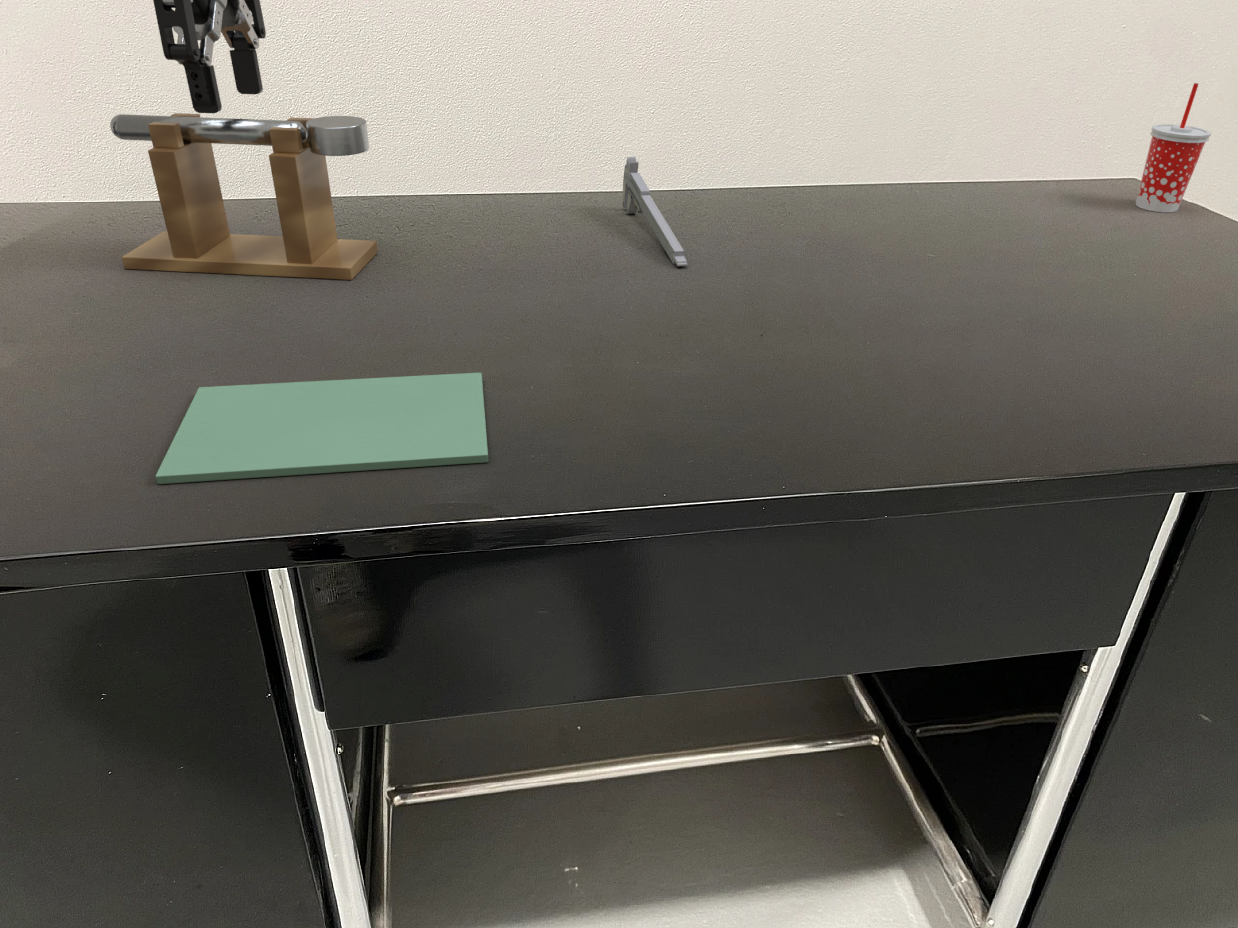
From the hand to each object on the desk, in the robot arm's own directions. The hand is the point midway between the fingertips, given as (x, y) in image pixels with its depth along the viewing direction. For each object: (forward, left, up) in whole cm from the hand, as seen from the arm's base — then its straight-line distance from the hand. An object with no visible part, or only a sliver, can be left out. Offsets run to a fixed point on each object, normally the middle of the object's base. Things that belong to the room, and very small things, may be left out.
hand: (230, 102), depth 83 cm
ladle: (-1, 0, -4) cm, 4 cm away
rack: (-1, 0, -15) cm, 15 cm away
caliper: (+37, +13, -15) cm, 42 cm away
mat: (+18, -31, -15) cm, 39 cm away
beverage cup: (+97, +33, -15) cm, 104 cm away
